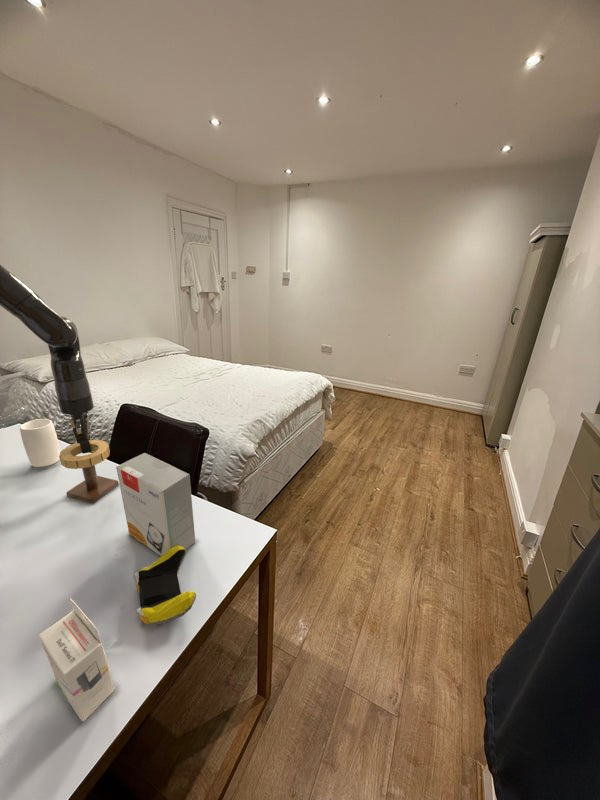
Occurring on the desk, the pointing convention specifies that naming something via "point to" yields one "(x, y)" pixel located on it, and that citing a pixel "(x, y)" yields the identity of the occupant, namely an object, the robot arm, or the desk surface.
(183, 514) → the hard drive box
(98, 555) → the desk surface
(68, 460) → the ring
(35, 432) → the cup
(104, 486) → the stand
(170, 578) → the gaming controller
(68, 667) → the ink box
